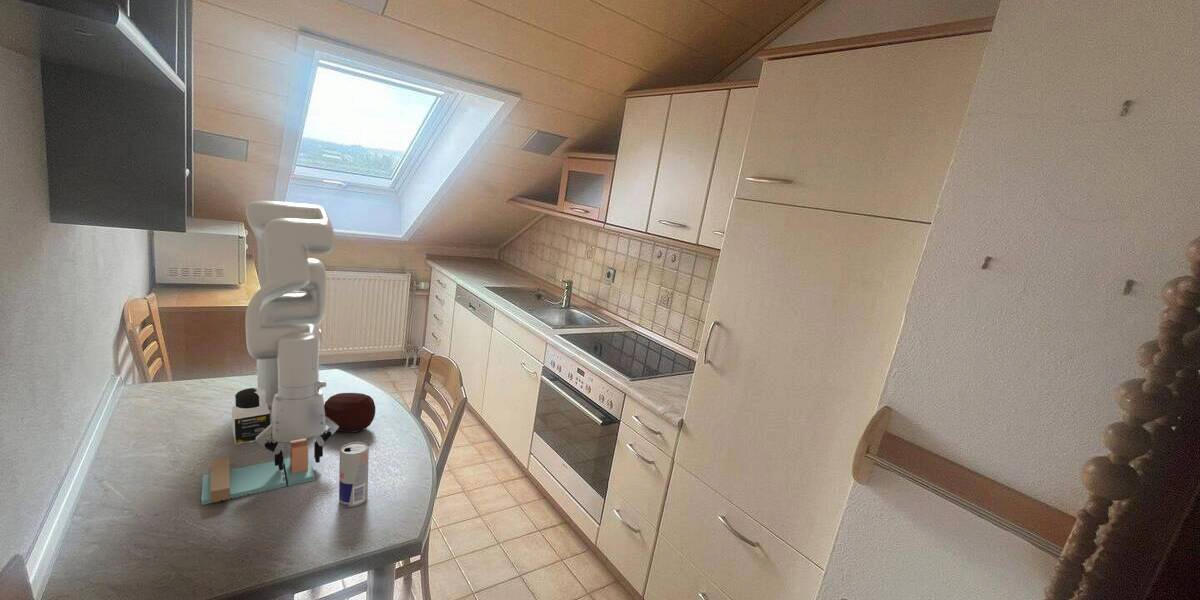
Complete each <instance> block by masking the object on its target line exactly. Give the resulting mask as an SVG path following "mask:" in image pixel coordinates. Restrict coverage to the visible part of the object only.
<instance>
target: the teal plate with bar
mask: <svg viewBox="0 0 1200 600" xmlns="http://www.w3.org/2000/svg"><path fill="white" fill-rule="evenodd" d="M210 467H211V468H210V473H206V474H203V475H202V483H201V496H200V497H201V499H200V500H201V502H200V503H201V506H205V505H209V503H210V504H212V503H213V502H214V503H218V502H221V500H223V501H227V500H231V499H230V498H232V499H235V498H234V497H236V498H240V497H239V496H241V497H244V496H243V495H245V496H248V495H247V494H250V495H253V493H254V494H258V493H257V492H259V493H263V492H267V491H266V490H268V491H271V490H276V488H277V489H280V488H284V487H285V486H286V487H287V478H286V473H285V468H283V469H282V470H280V471H279V466H278V465H277V466H275V460H273V461H269V462H263V463H258V464H253V465H247V466H243V467H237V468H231V469H230V467H231V465H230V456H225V457H220V458H215V459H211V466H210ZM262 491H263V492H262ZM226 499H227V500H226Z"/></svg>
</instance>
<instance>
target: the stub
mask: <svg viewBox="0 0 1200 600" xmlns="http://www.w3.org/2000/svg"><path fill="white" fill-rule="evenodd" d="M289 446H290V448H289V451H290V452H289V455H290V456H289V458H283V467H284V472H285V477H286V482H287V486H288V487H289V486H294V485H300V484H303V483H308V482H312V481H315V480H316V474H315V470H314V468H313V467H314V466H313V463H312V460H311V457H310V454H309V444H308V441H307V438H304V439H299V440H293V441H289Z"/></svg>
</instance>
